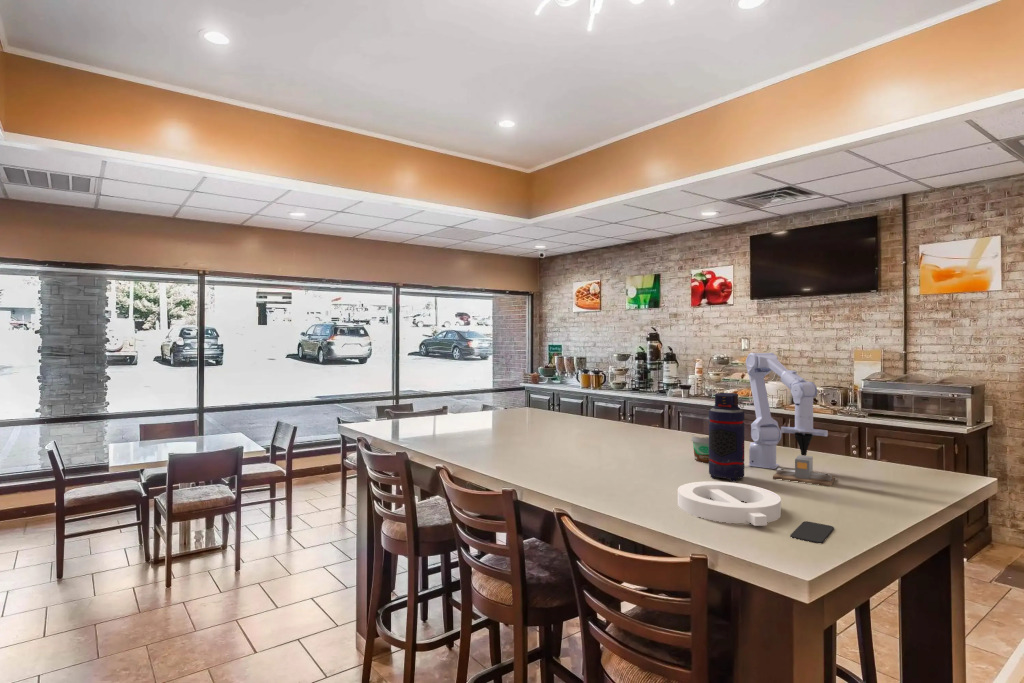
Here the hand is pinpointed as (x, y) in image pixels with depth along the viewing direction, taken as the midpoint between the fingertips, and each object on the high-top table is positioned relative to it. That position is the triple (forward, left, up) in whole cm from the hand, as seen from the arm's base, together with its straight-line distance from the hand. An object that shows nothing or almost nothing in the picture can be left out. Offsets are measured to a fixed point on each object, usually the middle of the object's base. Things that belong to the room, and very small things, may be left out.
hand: (803, 454), depth 199 cm
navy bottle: (-23, -12, -9) cm, 27 cm away
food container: (-36, +9, -9) cm, 38 cm away
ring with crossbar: (-13, -51, -9) cm, 53 cm away
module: (0, 0, -8) cm, 8 cm away
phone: (+10, -60, -9) cm, 62 cm away
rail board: (0, 0, -8) cm, 8 cm away
